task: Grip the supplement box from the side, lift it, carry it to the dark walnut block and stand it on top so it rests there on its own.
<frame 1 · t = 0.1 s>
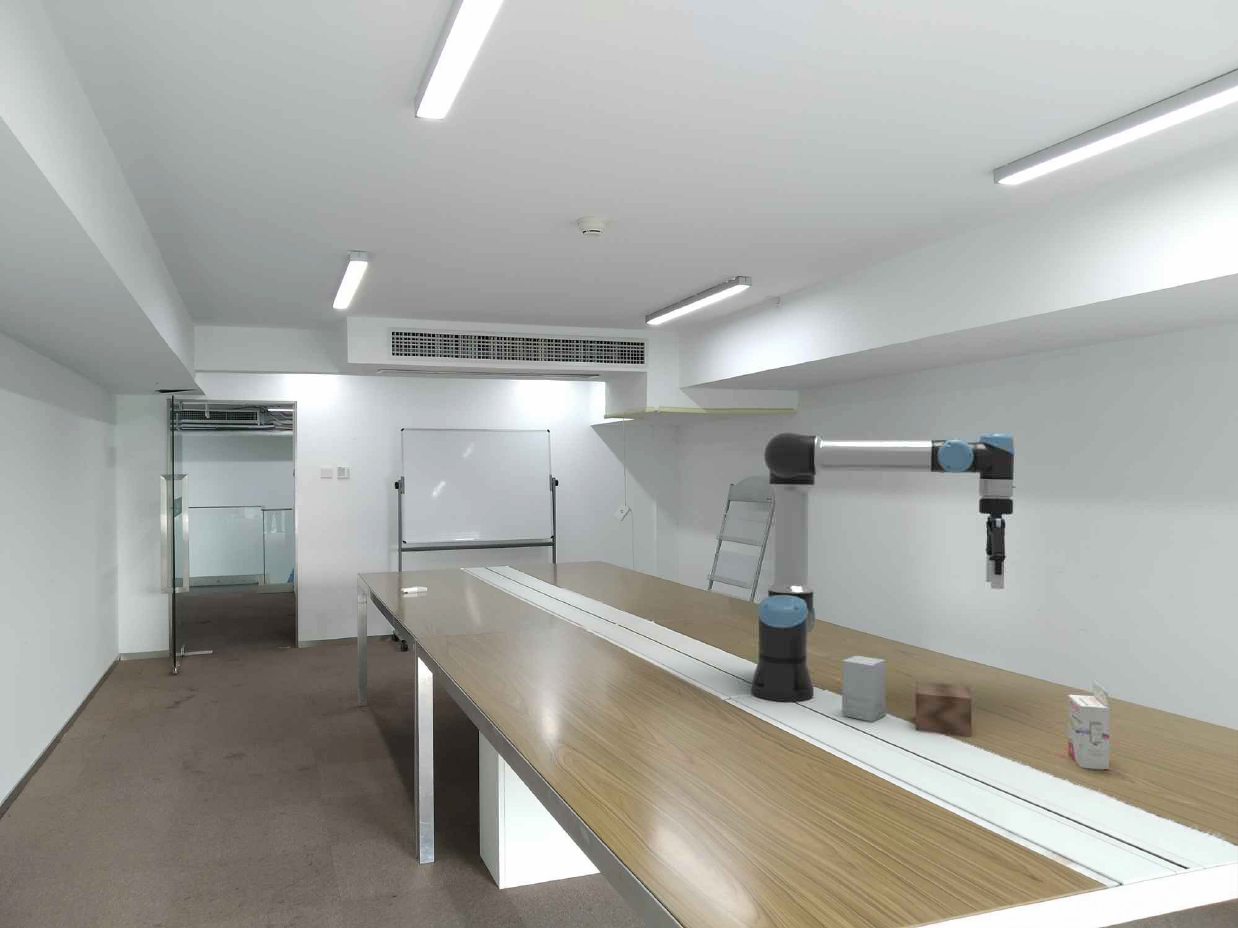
hand: (994, 585, 204), 28 cm above the table, tool pointing down, fingers open, 13 cm apart
supplement box: (863, 716, 190), on the table
walnut block: (942, 726, 183), on the table
ink cartridge box: (1087, 762, 161), on the table
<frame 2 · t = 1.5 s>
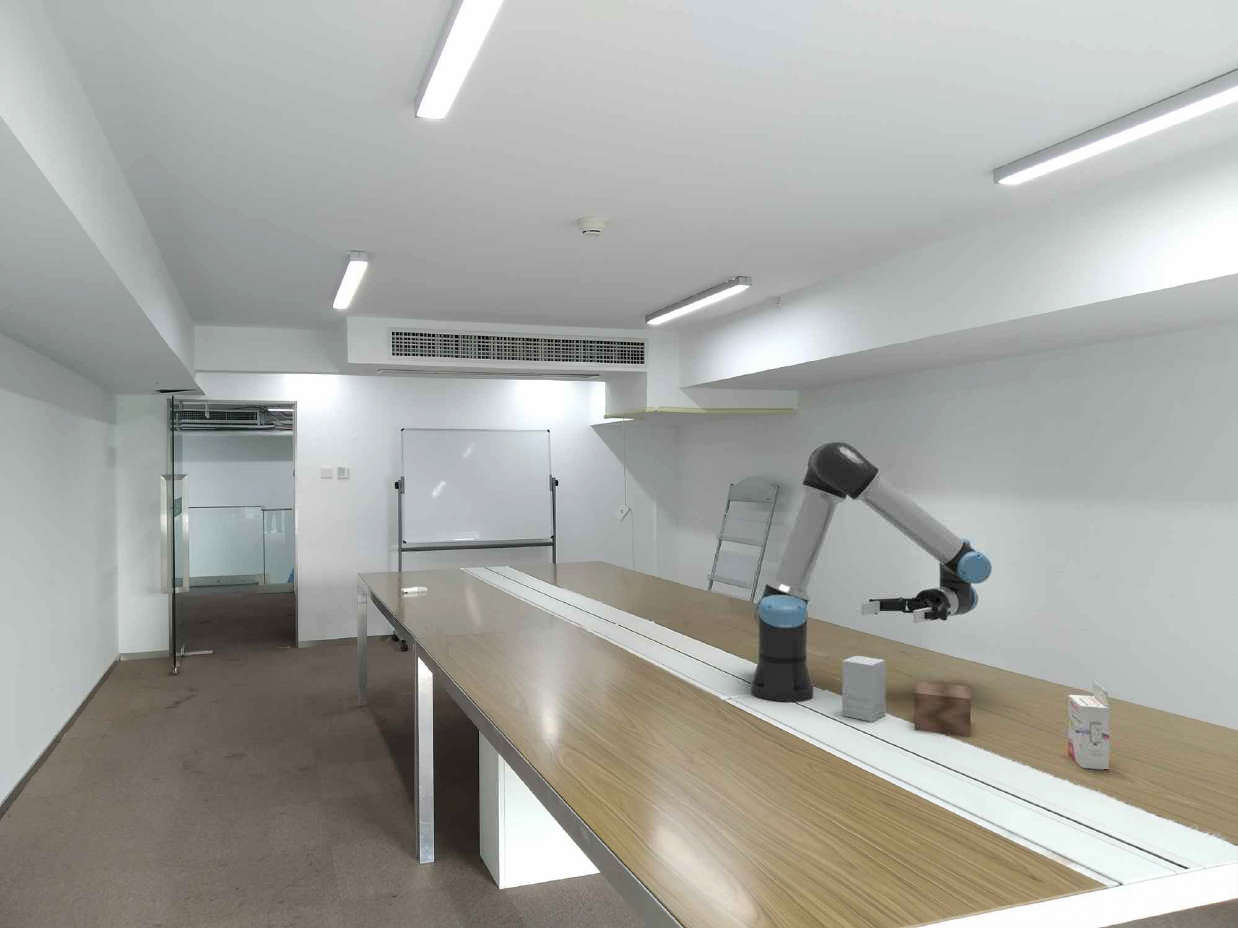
hand: (888, 612, 196), 22 cm above the table, tool horizontal, fingers open, 13 cm apart
nothing on the table moved.
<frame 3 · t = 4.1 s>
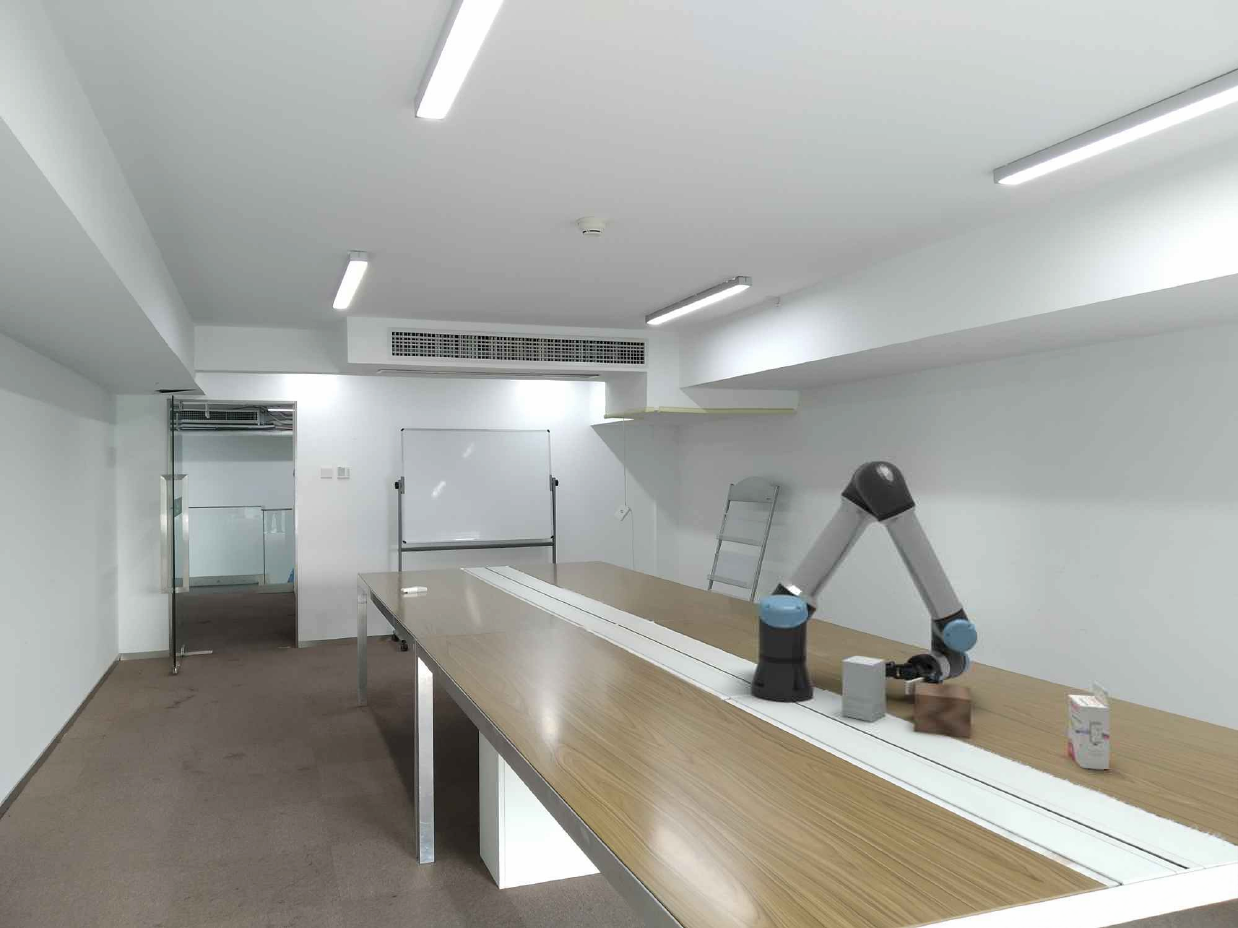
hand: (879, 682, 192), 7 cm above the table, tool horizontal, fingers open, 13 cm apart
walnut block: (941, 727, 182), on the table
everything else where it was.
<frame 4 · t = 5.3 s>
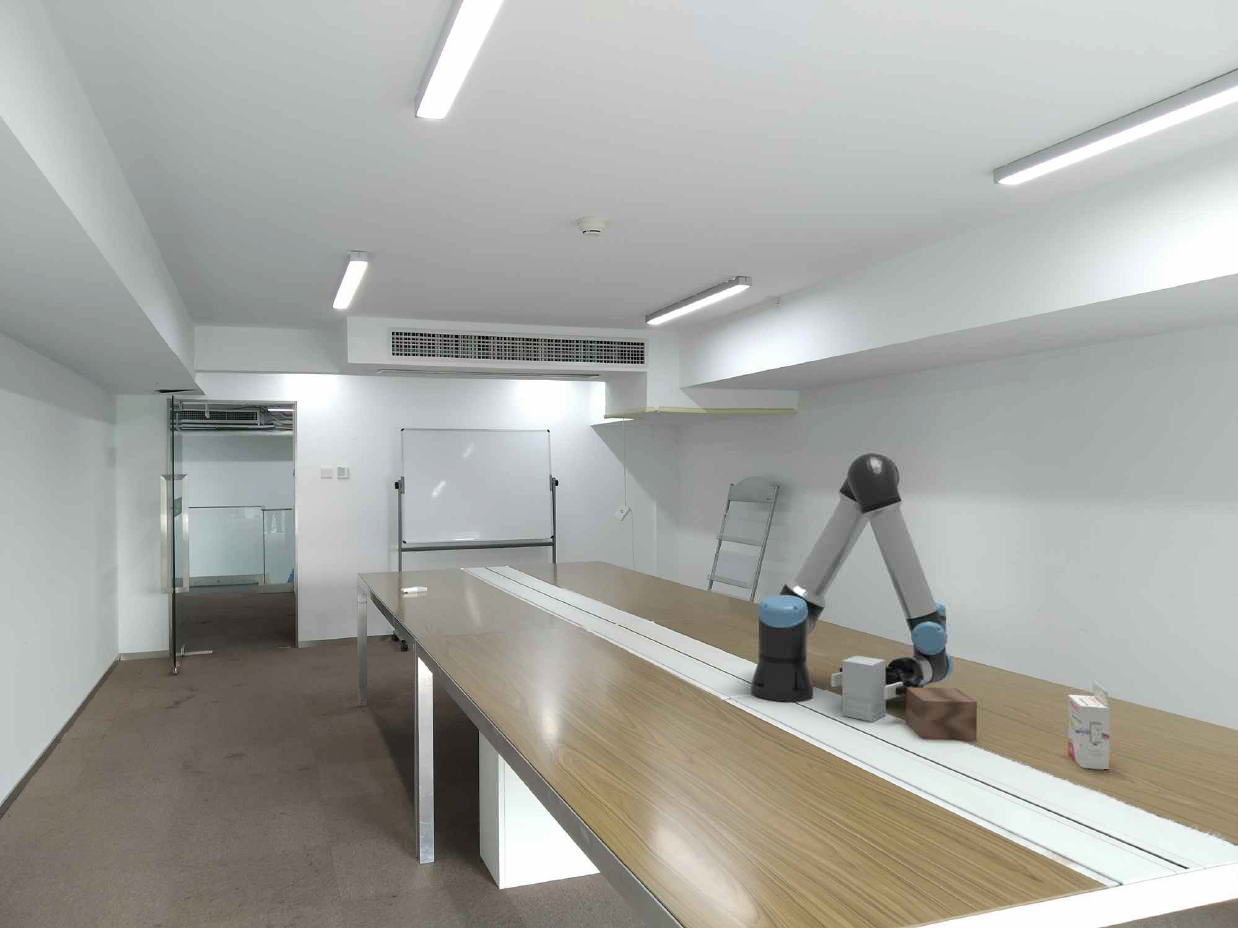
hand: (858, 686, 188), 7 cm above the table, tool horizontal, fingers open, 13 cm apart
walnut block: (940, 732, 179), on the table, touching gripper
everything else where it was.
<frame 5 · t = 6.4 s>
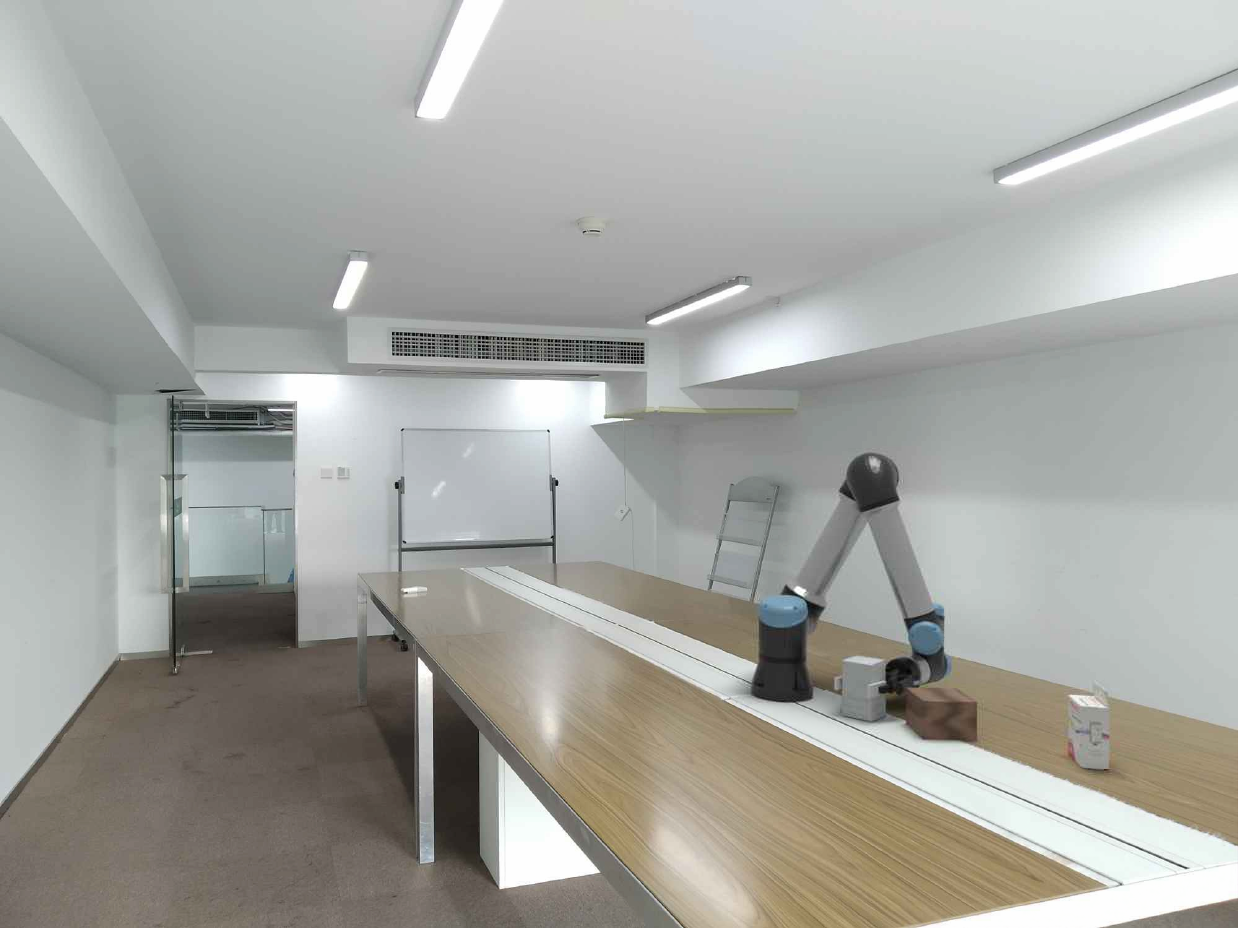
hand: (851, 687, 187), 7 cm above the table, tool horizontal, fingers closed on supplement box, 8 cm apart
supplement box: (863, 716, 190), on the table, touching gripper
walnut block: (940, 732, 179), on the table
everything else where it was.
when the fingers open (16 cm above the table, at t = 10.6 s): supplement box drops 2 cm, point 8 cm above the table.
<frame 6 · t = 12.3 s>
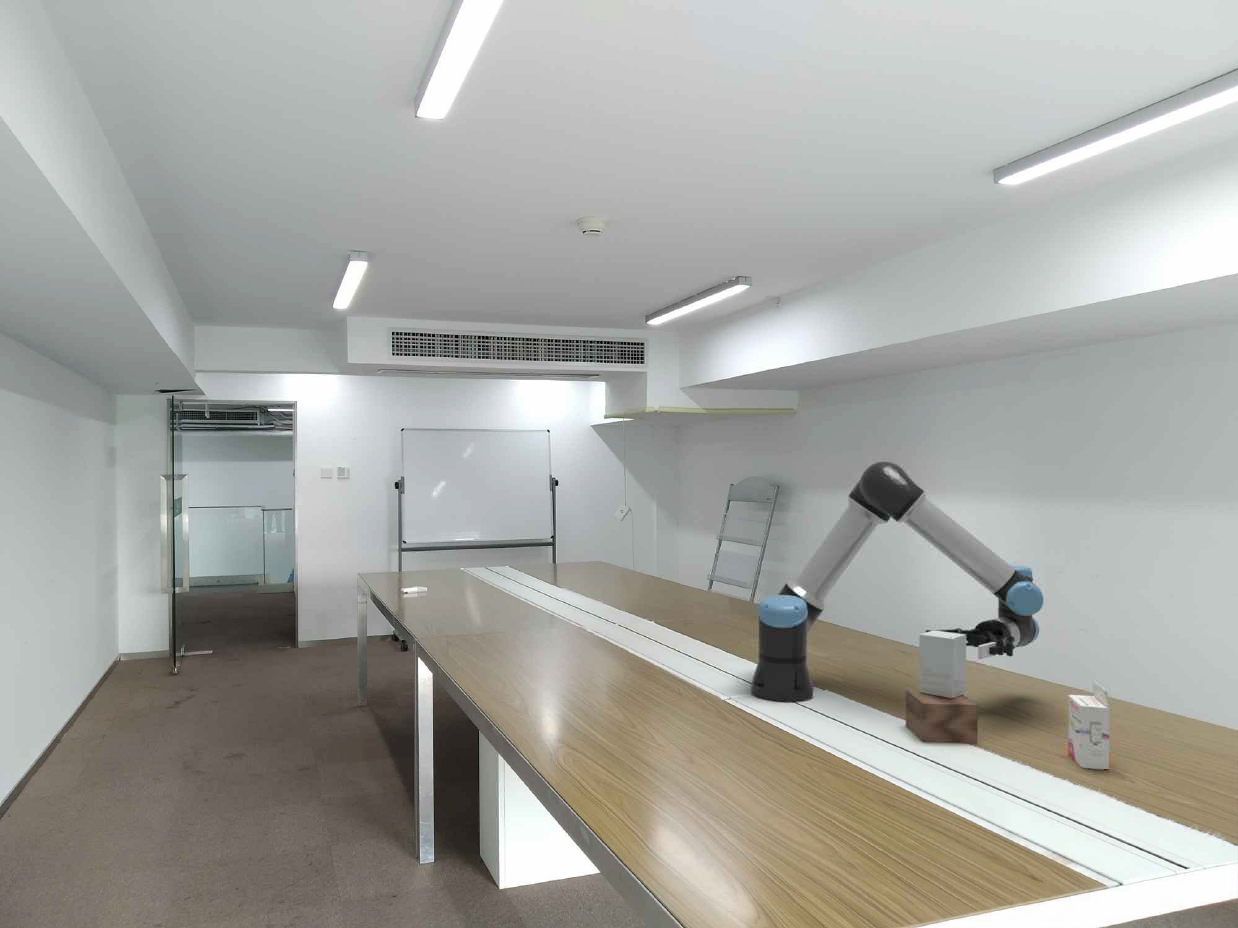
hand: (949, 647, 184), 17 cm above the table, tool horizontal, fingers open, 13 cm apart
supplement box: (942, 693, 180), point 8 cm above the table
walnut block: (940, 735, 177), on the table
everything else where it was.
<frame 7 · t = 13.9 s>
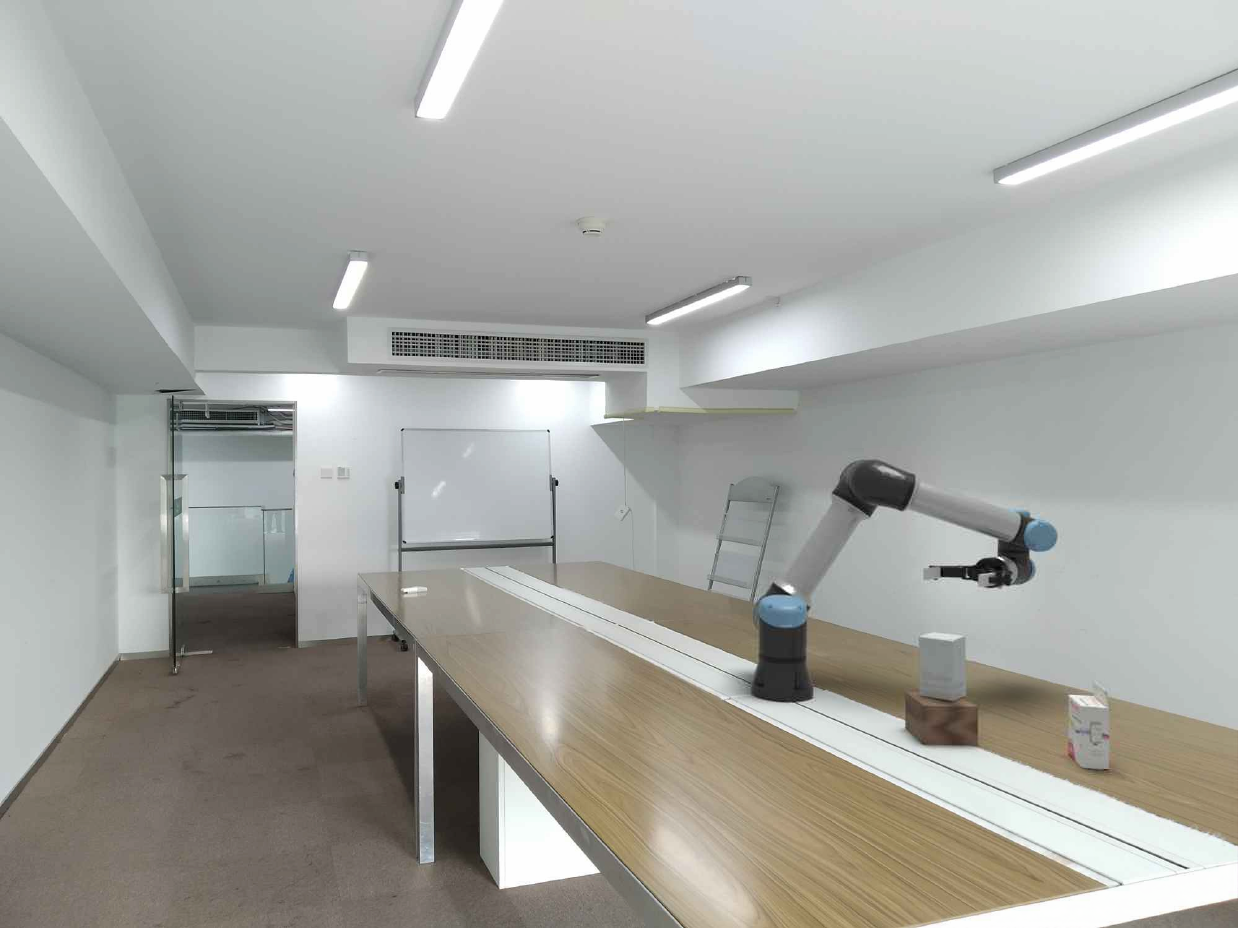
hand: (951, 577, 196), 31 cm above the table, tool horizontal, fingers open, 13 cm apart
supplement box: (942, 696, 178), point 8 cm above the table
walnut block: (940, 737, 175), on the table
everything else where it was.
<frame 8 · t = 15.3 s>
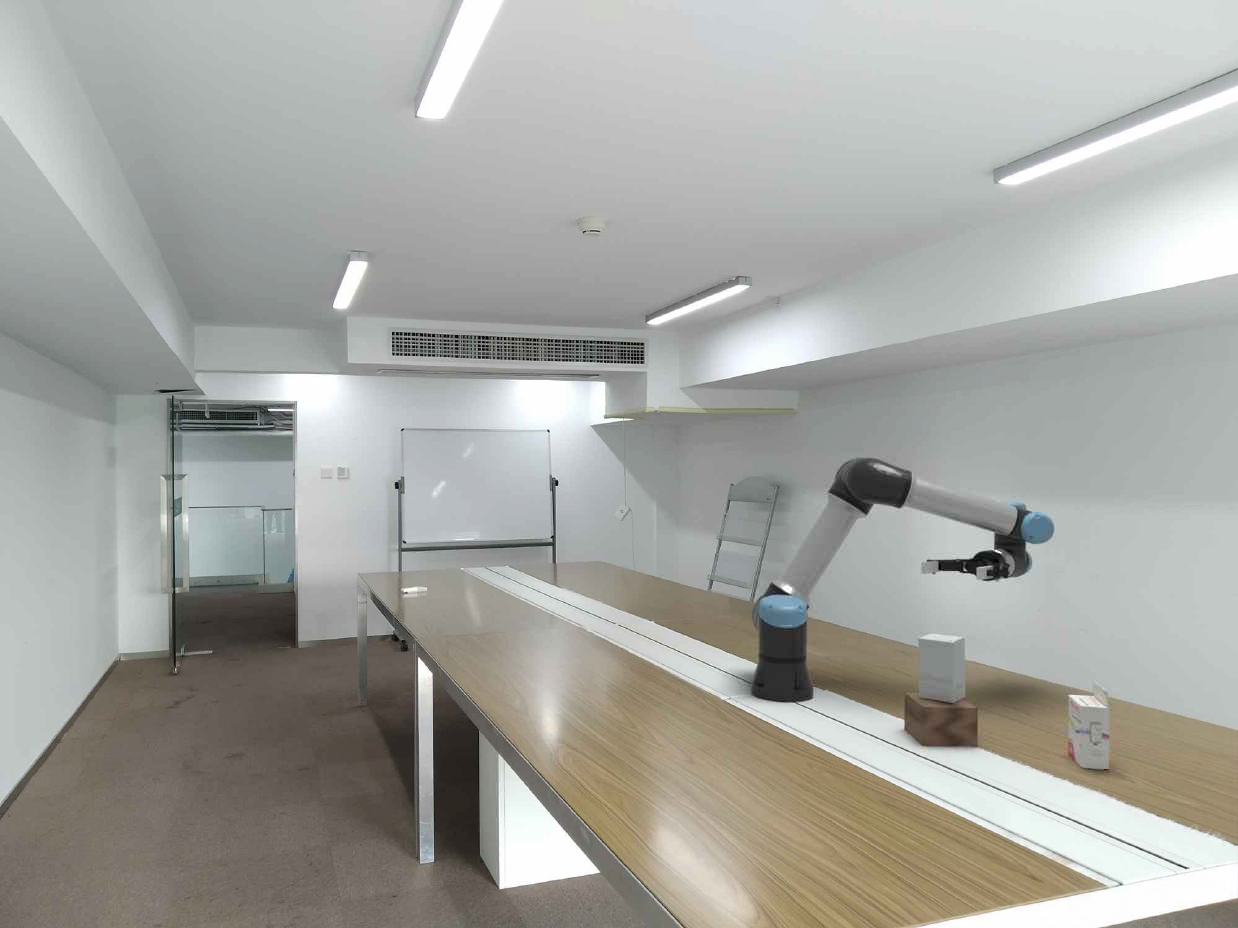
hand: (949, 570, 197), 32 cm above the table, tool horizontal, fingers open, 13 cm apart
supplement box: (941, 698, 176), point 8 cm above the table, touching walnut block
walnut block: (939, 738, 174), on the table, touching supplement box
everything else where it was.
at the end: supplement box inside the target area on the walnut block (2.0 cm from its centre), point 7.8 cm above the walnut block's base; supplement box tilted 0°; the gripper is holding nothing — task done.
